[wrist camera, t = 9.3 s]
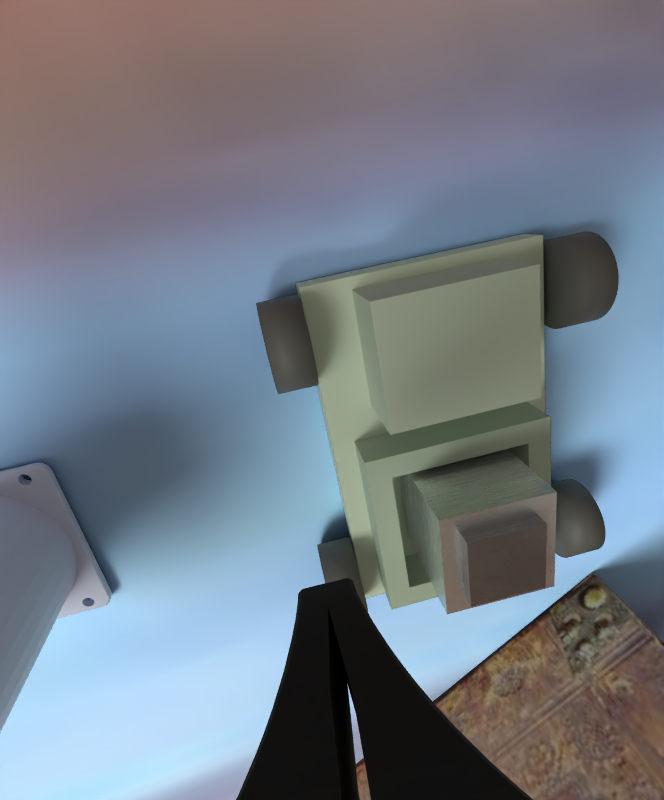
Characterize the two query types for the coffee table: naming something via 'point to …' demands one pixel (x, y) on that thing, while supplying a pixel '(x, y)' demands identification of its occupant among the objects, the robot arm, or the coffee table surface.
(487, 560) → the engine block
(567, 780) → the brown rectangular box
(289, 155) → the coffee table surface
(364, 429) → the chassis
